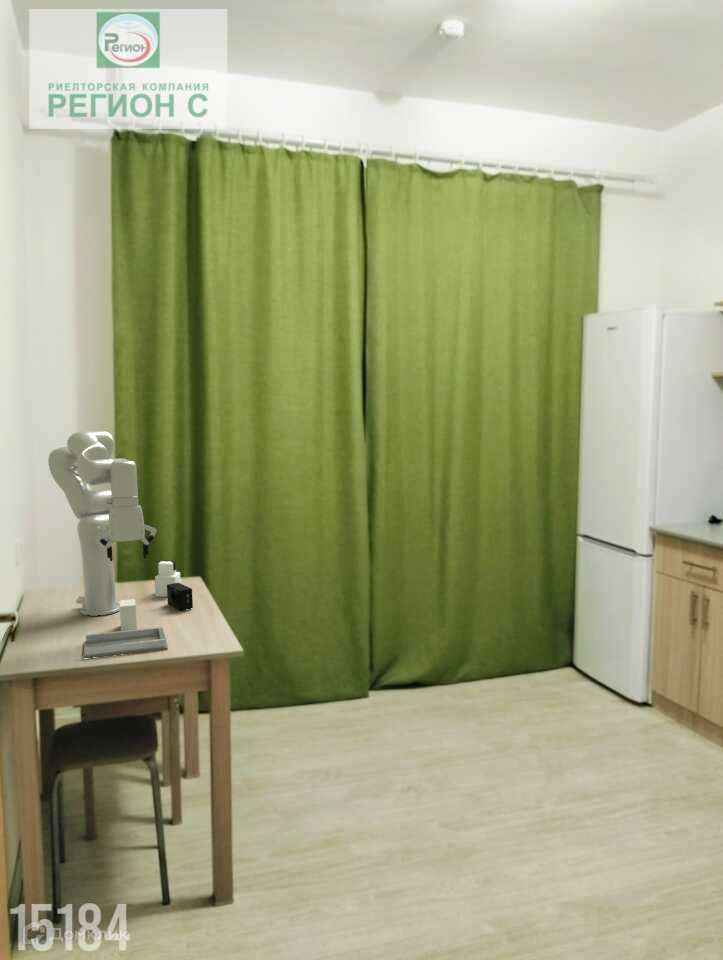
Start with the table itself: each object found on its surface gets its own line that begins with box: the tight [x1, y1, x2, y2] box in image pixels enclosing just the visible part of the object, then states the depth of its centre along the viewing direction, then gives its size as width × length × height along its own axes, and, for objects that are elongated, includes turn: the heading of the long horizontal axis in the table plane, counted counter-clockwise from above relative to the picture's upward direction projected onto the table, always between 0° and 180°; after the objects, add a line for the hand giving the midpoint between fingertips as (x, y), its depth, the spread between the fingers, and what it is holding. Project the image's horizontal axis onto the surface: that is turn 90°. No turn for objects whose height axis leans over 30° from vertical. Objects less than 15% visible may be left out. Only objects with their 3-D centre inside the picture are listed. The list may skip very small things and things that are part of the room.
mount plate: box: [82, 633, 169, 659], centre depth 212 cm, size 22×14×1 cm, turn 108°
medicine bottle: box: [154, 559, 182, 598], centre depth 266 cm, size 7×7×12 cm
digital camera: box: [166, 583, 194, 612], centre depth 250 cm, size 10×5×7 cm, turn 38°
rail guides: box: [85, 626, 166, 656], centre depth 212 cm, size 21×12×2 cm, turn 108°
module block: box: [119, 598, 138, 631], centre depth 228 cm, size 4×7×8 cm, turn 18°
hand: (128, 558), depth 226 cm, fingers open, 9 cm apart
